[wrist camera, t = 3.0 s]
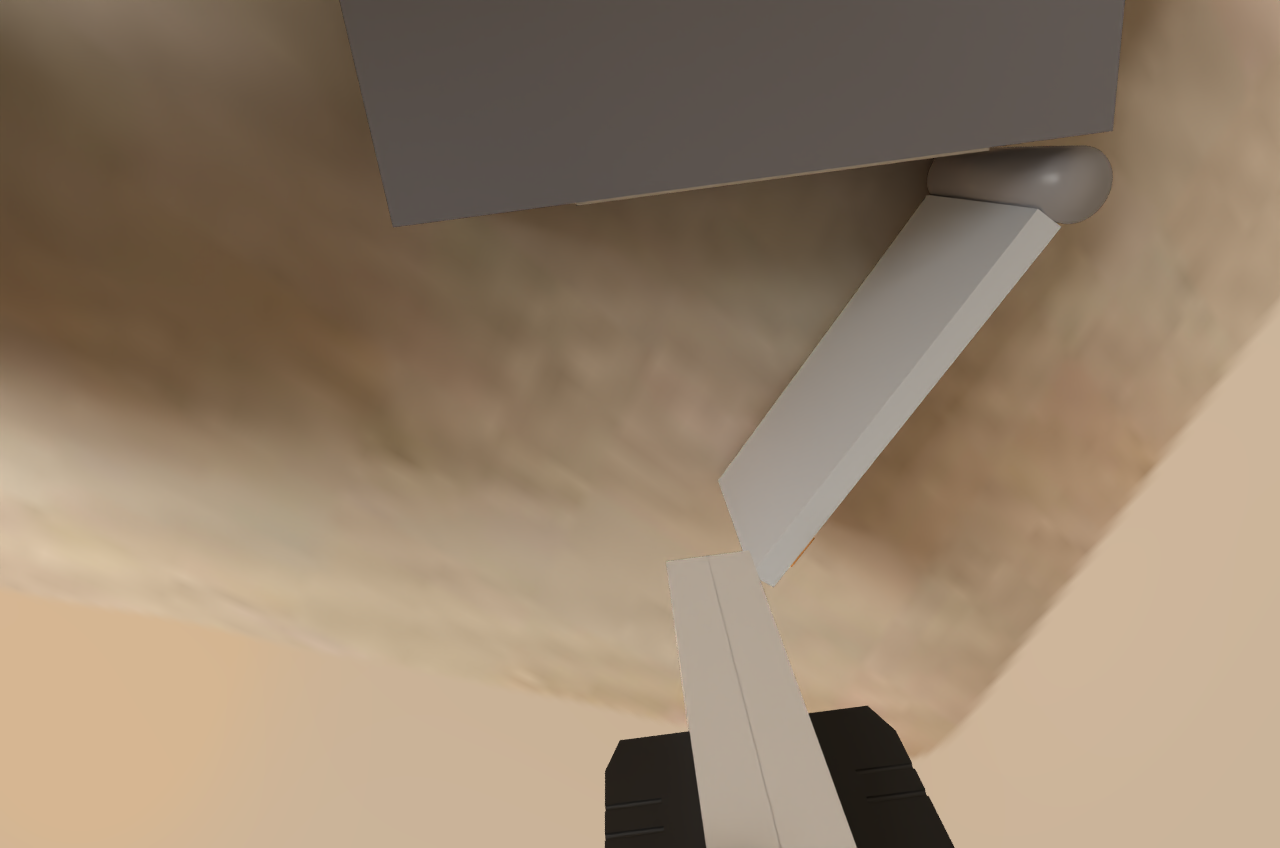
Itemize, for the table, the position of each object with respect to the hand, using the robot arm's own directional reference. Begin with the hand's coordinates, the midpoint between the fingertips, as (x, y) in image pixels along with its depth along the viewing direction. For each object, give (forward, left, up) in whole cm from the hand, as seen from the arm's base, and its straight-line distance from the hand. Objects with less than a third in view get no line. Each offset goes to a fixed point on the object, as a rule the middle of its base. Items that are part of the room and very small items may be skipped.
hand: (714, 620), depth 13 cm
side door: (+7, +1, -13) cm, 15 cm away
